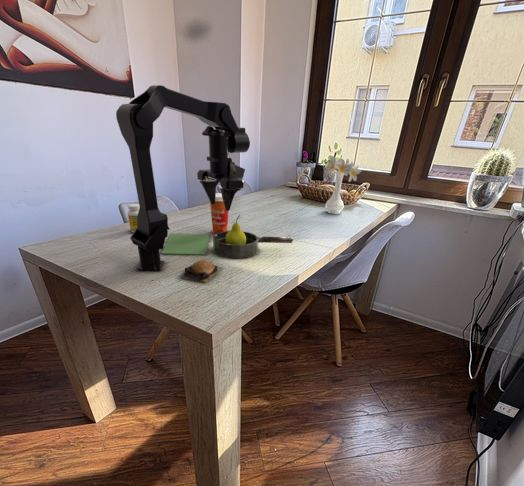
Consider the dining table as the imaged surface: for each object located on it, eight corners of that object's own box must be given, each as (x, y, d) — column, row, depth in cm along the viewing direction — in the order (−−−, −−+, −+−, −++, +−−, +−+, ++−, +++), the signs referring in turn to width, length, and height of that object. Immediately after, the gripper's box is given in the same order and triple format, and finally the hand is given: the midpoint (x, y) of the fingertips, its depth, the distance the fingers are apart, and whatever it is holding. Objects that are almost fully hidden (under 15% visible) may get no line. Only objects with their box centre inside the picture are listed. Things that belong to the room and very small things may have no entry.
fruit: (221, 248, 106) (221, 212, 100) (237, 244, 110) (238, 210, 104) (233, 254, 102) (233, 217, 96) (249, 250, 106) (250, 215, 99)
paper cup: (206, 233, 120) (204, 195, 113) (217, 228, 126) (216, 192, 118) (223, 237, 117) (222, 198, 110) (233, 232, 123) (234, 195, 116)
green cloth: (205, 255, 101) (205, 254, 101) (161, 254, 100) (161, 253, 100) (209, 235, 118) (209, 234, 118) (171, 234, 117) (171, 233, 116)
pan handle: (256, 243, 104) (256, 237, 103) (255, 241, 106) (255, 235, 105) (293, 244, 106) (293, 238, 105) (292, 242, 107) (292, 236, 106)
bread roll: (197, 264, 95) (196, 253, 93) (222, 269, 93) (222, 257, 91) (178, 278, 86) (177, 265, 84) (205, 283, 84) (205, 271, 82)
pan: (259, 259, 101) (259, 246, 98) (212, 258, 99) (211, 244, 97) (256, 243, 113) (257, 231, 111) (214, 242, 112) (214, 230, 110)
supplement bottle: (143, 228, 121) (139, 202, 116) (147, 232, 117) (143, 206, 112) (129, 230, 118) (124, 204, 113) (132, 234, 115) (128, 207, 110)
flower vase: (342, 218, 149) (354, 161, 136) (312, 210, 160) (320, 156, 147) (357, 214, 157) (369, 160, 144) (327, 207, 168) (336, 155, 155)
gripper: (259, 156, 91) (257, 211, 99) (225, 150, 103) (226, 199, 111) (226, 157, 85) (227, 215, 93) (195, 150, 97) (198, 202, 105)
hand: (220, 207), depth 101 cm, fingers open, 9 cm apart
